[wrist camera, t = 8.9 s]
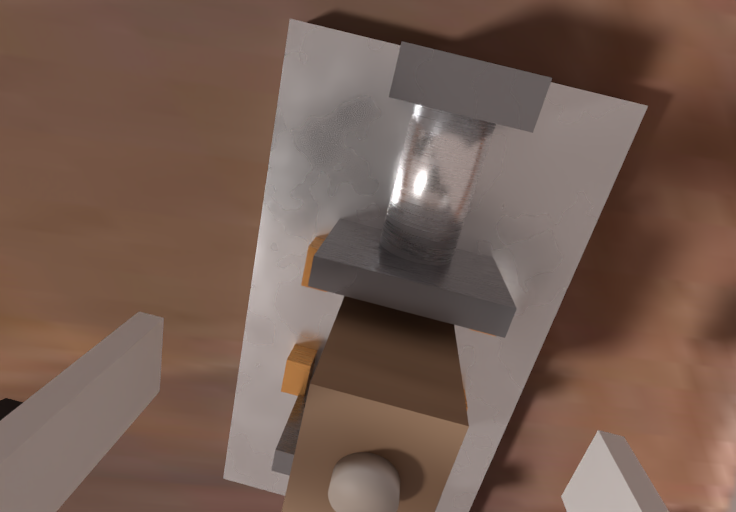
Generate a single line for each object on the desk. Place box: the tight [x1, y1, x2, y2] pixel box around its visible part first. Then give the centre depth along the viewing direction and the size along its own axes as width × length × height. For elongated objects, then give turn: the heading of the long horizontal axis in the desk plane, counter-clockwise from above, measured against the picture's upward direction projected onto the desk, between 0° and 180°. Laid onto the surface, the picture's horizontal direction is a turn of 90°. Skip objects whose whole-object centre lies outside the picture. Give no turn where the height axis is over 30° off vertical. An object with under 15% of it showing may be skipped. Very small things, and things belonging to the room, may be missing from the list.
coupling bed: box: [223, 19, 648, 512], centre depth 16 cm, size 21×12×5 cm, turn 167°
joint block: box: [282, 296, 469, 512], centre depth 14 cm, size 5×4×8 cm
